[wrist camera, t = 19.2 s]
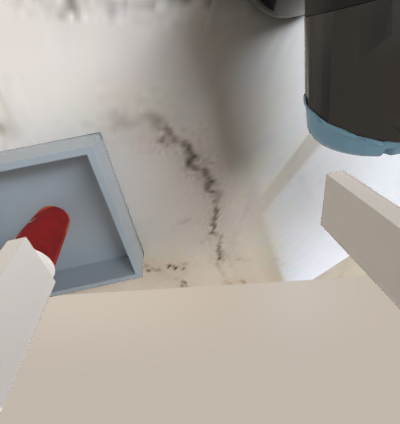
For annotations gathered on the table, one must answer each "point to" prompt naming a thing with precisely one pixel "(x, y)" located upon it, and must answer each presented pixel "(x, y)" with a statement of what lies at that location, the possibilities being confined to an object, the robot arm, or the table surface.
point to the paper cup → (47, 234)
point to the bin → (73, 209)
